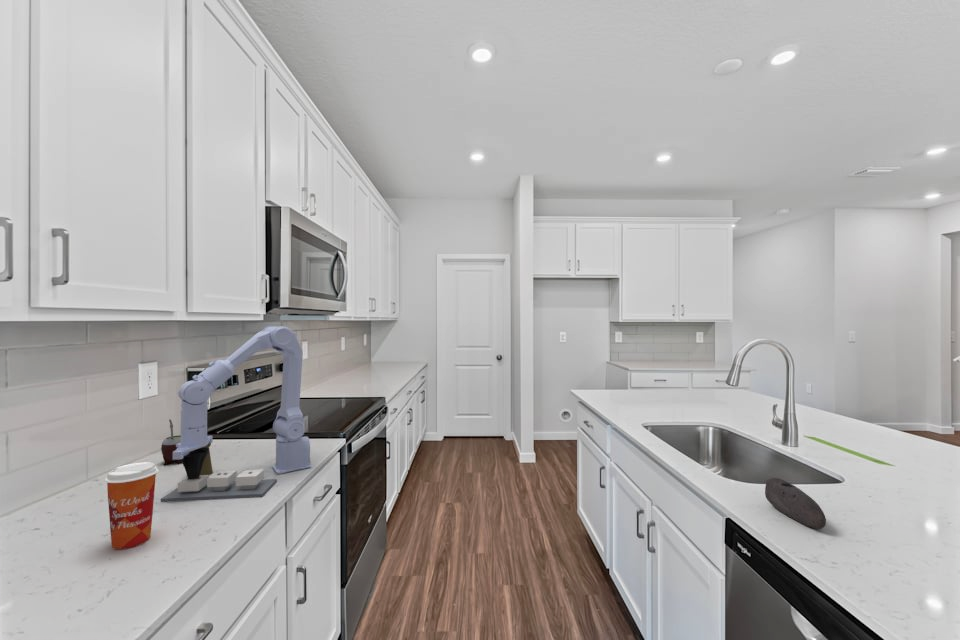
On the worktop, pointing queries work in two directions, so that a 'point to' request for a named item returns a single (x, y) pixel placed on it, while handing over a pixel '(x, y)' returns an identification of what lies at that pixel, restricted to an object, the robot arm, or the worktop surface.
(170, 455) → the mate gourd
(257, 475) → the key one
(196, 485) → the key three
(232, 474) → the key two
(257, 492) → the keypad base
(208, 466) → the cork
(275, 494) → the worktop surface
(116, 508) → the coffee cup
